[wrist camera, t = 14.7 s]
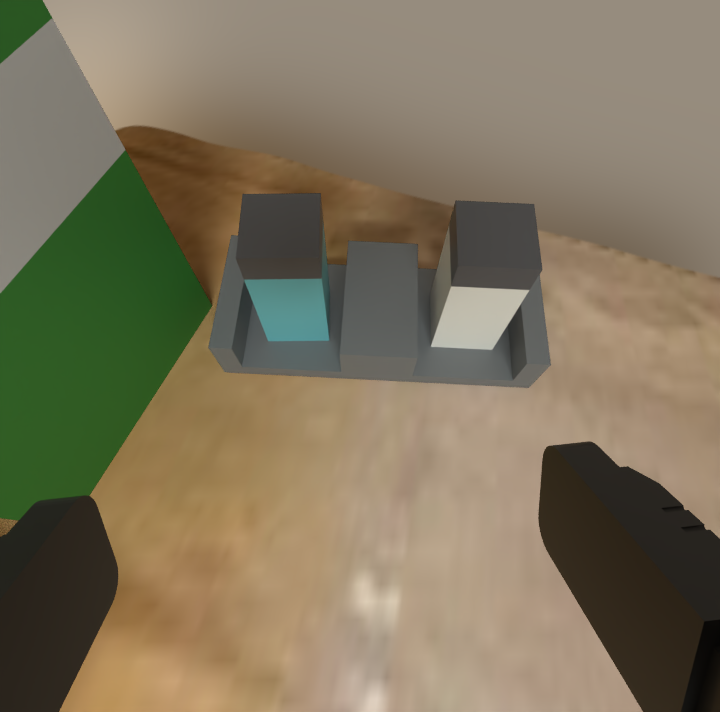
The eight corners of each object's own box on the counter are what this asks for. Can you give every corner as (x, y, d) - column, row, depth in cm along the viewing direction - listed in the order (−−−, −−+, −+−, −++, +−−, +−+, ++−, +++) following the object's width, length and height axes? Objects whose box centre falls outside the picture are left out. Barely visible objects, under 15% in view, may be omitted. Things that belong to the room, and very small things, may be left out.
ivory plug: (488, 297, 36) (534, 204, 26) (492, 349, 34) (542, 269, 25) (430, 294, 36) (455, 200, 26) (430, 346, 34) (458, 265, 25)
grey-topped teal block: (329, 288, 36) (320, 193, 27) (329, 340, 34) (319, 257, 25) (271, 289, 36) (242, 194, 27) (268, 341, 34) (235, 258, 25)
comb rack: (518, 281, 38) (536, 249, 34) (528, 387, 34) (550, 364, 30) (243, 268, 38) (231, 235, 34) (225, 372, 34) (208, 347, 30)
